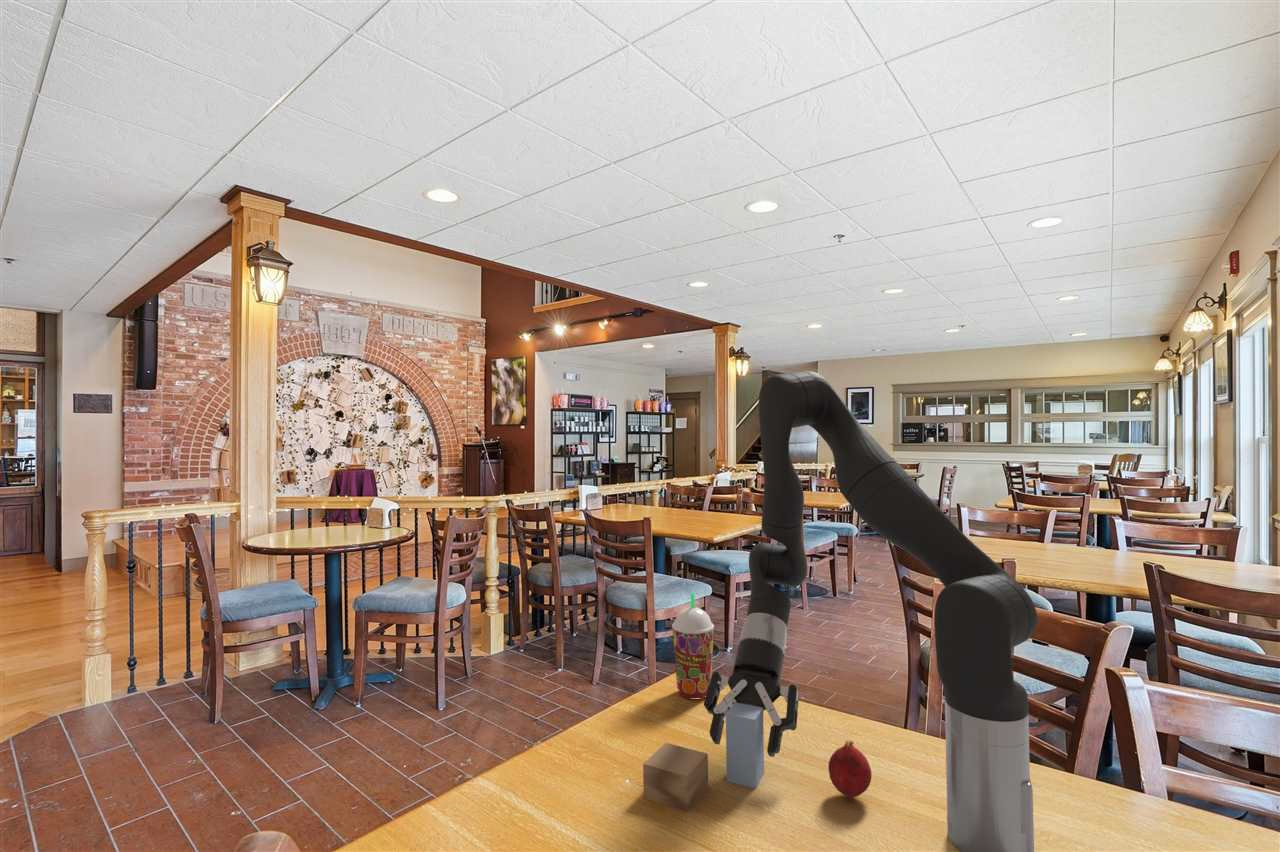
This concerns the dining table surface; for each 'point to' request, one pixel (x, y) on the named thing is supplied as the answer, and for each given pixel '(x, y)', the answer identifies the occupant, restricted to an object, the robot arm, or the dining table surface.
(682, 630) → the smoothie
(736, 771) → the pillar
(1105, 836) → the dining table surface
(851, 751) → the onion
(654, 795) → the walnut block
